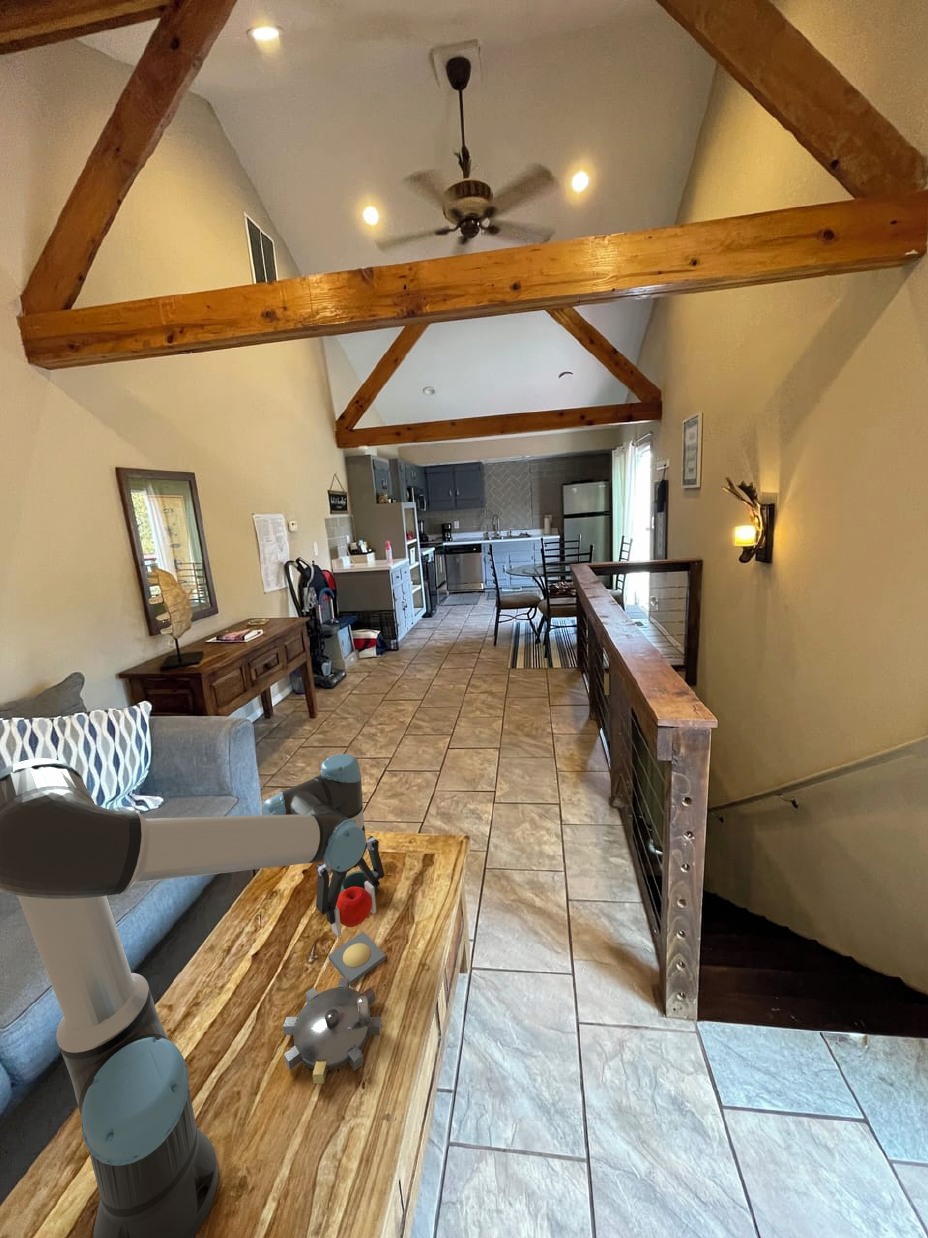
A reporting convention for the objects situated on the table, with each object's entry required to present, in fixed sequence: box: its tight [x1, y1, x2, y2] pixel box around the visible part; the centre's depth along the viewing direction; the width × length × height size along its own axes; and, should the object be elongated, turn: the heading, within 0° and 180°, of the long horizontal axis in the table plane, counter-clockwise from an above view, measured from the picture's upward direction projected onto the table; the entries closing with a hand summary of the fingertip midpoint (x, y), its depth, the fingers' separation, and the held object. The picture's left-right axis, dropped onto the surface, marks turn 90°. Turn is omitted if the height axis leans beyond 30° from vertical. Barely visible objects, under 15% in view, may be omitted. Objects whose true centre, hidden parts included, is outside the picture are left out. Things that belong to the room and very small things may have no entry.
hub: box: [325, 1009, 339, 1027], centre depth 95 cm, size 6×6×4 cm
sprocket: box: [282, 977, 382, 1085], centre depth 94 cm, size 18×18×7 cm
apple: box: [336, 886, 372, 928], centre depth 108 cm, size 8×8×7 cm
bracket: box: [340, 869, 374, 894], centre depth 128 cm, size 9×9×9 cm
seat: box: [327, 931, 387, 986], centre depth 111 cm, size 9×9×1 cm
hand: (354, 920), depth 109 cm, fingers closed on apple, 8 cm apart
